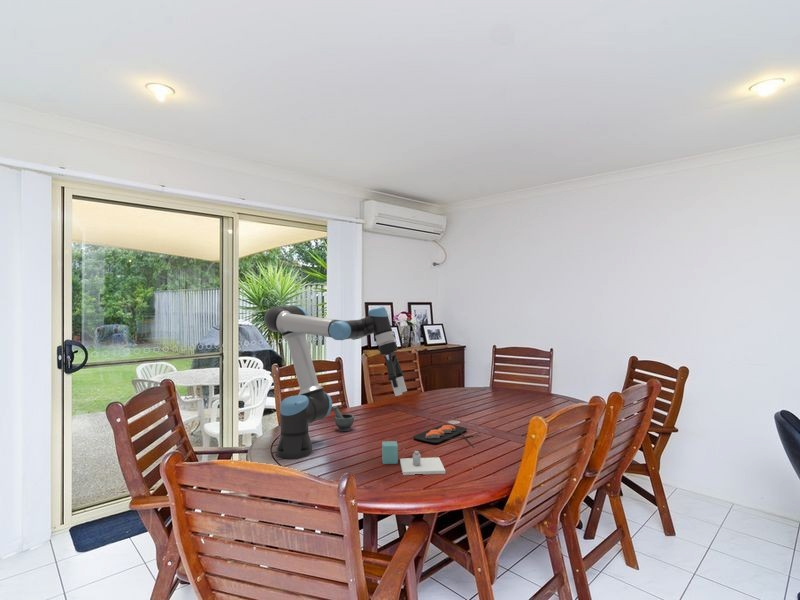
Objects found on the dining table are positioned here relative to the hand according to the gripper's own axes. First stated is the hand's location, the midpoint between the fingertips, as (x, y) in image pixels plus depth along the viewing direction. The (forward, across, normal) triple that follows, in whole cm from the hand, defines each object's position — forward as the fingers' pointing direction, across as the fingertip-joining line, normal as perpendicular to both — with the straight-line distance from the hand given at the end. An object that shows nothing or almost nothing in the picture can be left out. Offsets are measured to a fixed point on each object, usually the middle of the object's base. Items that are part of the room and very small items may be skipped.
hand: (401, 393), depth 181 cm
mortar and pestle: (+11, +39, +41) cm, 58 cm away
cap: (+24, +1, +13) cm, 27 cm away
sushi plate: (+29, +35, -12) cm, 47 cm away
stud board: (+29, -4, 0) cm, 29 cm away
